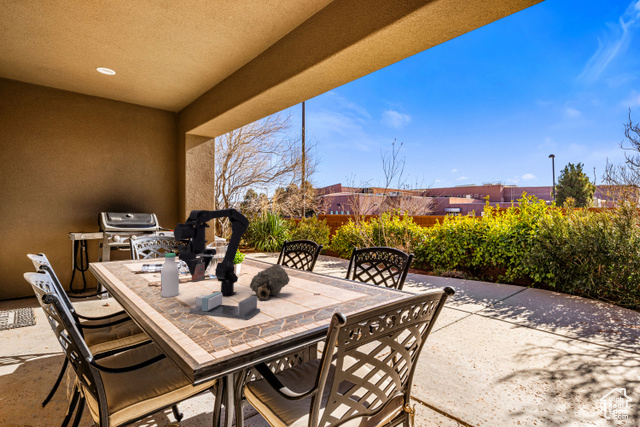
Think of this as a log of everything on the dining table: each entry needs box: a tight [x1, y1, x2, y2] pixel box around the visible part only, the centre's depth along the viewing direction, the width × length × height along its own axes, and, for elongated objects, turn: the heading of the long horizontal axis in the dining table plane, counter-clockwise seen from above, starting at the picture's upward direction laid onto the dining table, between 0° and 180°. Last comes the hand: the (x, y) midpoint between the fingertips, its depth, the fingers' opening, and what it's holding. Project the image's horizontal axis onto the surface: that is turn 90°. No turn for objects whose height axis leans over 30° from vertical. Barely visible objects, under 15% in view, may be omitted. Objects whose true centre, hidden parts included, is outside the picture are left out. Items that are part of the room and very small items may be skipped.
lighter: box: [190, 256, 206, 283], centre depth 136 cm, size 8×3×10 cm, turn 168°
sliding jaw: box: [195, 291, 223, 311], centre depth 126 cm, size 10×8×5 cm
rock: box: [249, 263, 291, 301], centre depth 147 cm, size 18×14×15 cm
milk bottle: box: [160, 252, 180, 298], centre depth 148 cm, size 8×8×20 cm
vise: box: [188, 295, 261, 321], centre depth 124 cm, size 10×26×6 cm, turn 75°
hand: (198, 273), depth 136 cm, fingers closed on lighter, 8 cm apart
